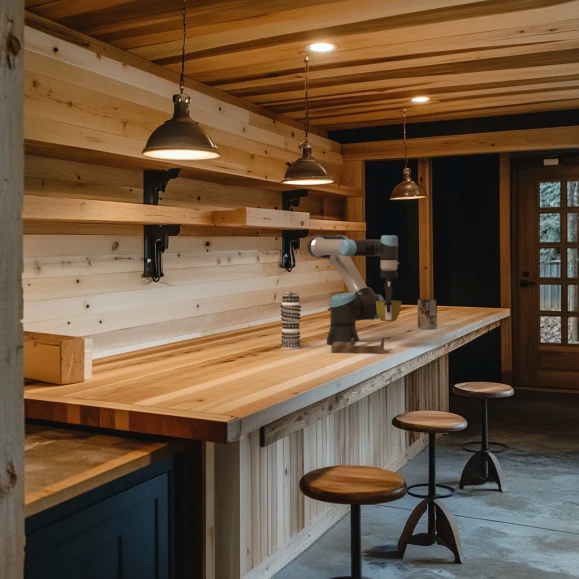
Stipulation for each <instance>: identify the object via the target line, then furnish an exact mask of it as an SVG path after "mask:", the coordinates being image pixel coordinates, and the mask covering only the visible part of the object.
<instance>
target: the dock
mask: <svg viewBox="0 0 579 579" xmlns="http://www.w3.org/2000/svg"><path fill="white" fill-rule="evenodd" d="M330 346H331V347H330V348H331V352H330V353H331V354H369V353H370V354H374V355H375V354H377V355H378V354H379V355H384V353H385V338H384V337H381V341H359V342H354V337H352V339H351V341H350V342H333V344H332V345H330ZM370 354H369V355H370Z"/></svg>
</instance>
